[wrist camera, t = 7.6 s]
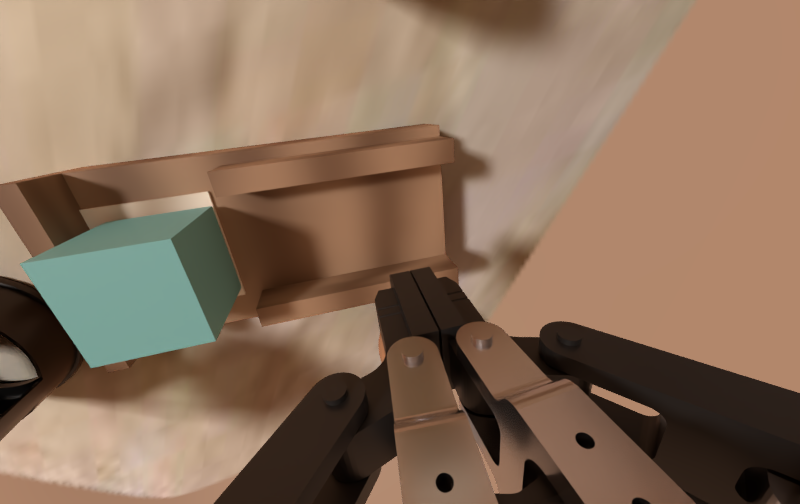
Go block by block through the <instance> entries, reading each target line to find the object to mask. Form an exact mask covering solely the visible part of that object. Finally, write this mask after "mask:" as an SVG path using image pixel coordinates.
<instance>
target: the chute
mask: <svg viewBox="0 0 800 504" xmlns="http://www.w3.org/2000/svg"><path fill="white" fill-rule="evenodd" d="M452 162H455V161H454V138H448V137H442V136H440V133H439V125H431V124H420V125H412V126H404V127H397V128H389V129H381V130H373V131H365V132H357V133H349V134H341V135H333V136H326V137H318V138H310V139H302V140H294V141H286V142H278V143H270V144H262V145H255V146H247V147H239V148H231V149H223V150H215V151H207V152H199V153H191V154H183V155H176V156H168V157H160V158H152V159H144V160H136V161H128V162H120V163H112V164H105V165H97V166H89V167H81V168H76V169H71V170H67V171H62V172H57V173H52V174H47V175H43V176H38V177H33V178H28V179H23V180H19V181H14V182H9V183H4V184H0V208H1V210H2V211H3V213H4V214H5V216H6V217H7V219H8V220H9V222H10V223H11V225H12V226H13V228H14V229H15V231H16V232H17V234H18V236H19V237H20V239H21V240H22V242H23V243H24V245H25V246H26V248H27V249H28V251H29V252H30V254H31V255H32V257H35V256H37V255H39V254H41V253H43V252H45V251H47V250H49V249H51V248H53V247H56V246H58V245H60V244H62V243H64V242H66V241H68V240H70V239H72V238H74V237H76V236H78V235H80V234H82V233H84V232H87V231H89V230H91V229H93V228H95V227H97V226H99V225H101V224H103V223H105V222H110V221H117V220H123V219H130V218H136V217H143V216H149V215H156V214H162V213H169V212H175V211H182V210H189V209H195V208H202V207H208V206H212V208H213V210H214V213H215V216H216V219H217V221H218V224H219V227H220V230H221V232H222V235H223V238H224V240H225V243H226V246H227V249H228V251H229V254H230V257H231V260H232V262H233V265H234V268H235V270H236V273H237V276H238V279H239V281H240V284H241V287H242V288H241V290H240V292H239V294H238V296H237V298H236V300H235V302H234V304H233V306H232V309H231V311H230V313H229V315H228V317H227V319H226V321H225V323H229V322H234V321H239V320H243V319H248V318H253V317H259V319H260V322H261V325H262V327H263V326H268V325H272V324H277V323H282V322H286V321H291V320H296V319H300V318H305V317H310V316H314V315H319V314H324V313H328V312H333V311H338V310H342V309H347V308H352V307H356V306H361V305H366V304H370V303H375V298H376V295H377V293H378V291H379V290H384V289H389V288H391V284H390V276H389V275H390V274H395V273H400V272H405V271H409V272H410V270H415V269H420V268H424V267H430V268H431V269H432V271H433V273H434V274H435V276H436V277H437V278H441V277H448V278H449V279H451V280H453V281H455V282H457V284H458V285H459V283H458V267H457V266H456V265H455V264H454V263H453V262H452V261H451V259H450V258H449V257H448V256H447V255H446V252H445V232H444V213H443V193H442V173H441V164H445V163H452ZM136 359H137V358H136ZM136 359H131V360H127V361H122V362H117V363H113V364H108V365H104V366H105V368H106V369H107V371H108V372H113V371H118V370H122V369H127V368H130V366H131V365H132V364H133V363H134V361H135V360H136Z"/></svg>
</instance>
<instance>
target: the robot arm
mask: <svg viewBox="0 0 800 504" xmlns="http://www.w3.org/2000/svg"><path fill="white" fill-rule="evenodd" d="M389 276H390V284H391V288H389V289H384V290H379V291H378V293H377V295H376V298H375V305H376V311H377V316H378V322H379V327H380V333H381V337H382V342H383V346H384V350H385V358H384V360H383V362H382V363H381V365H380V366H379V367H378V368H377V369H376V370H374V371H373V372H371V373H370V374H368V375H366V376H364V377H363V378H361V379H360V378H359V377H358V376H356V375H354V374H351V373H336V374H332V375H329V376H327V377H325V378H324V379H322V380H320V381H319V382H318V383H317V384H316V385H315V386H314V387H313V388H312V389H311V390H310V392H309V393H308V394H307V395H306V396H305V397H304V399H303V400H302V401H301V402H300V403H299V404H298V406H297V407H296V408H295V409H294V410H293V411H292V413H291V414H290V415H289V416H288V417H287V418H286V420H285V421H284V422H283V423H282V424H281V425H280V427H279V428H278V429H277V430H276V431H275V432H274V434H273V435H272V436H271V437H270V438H269V439H268V441H267V442H266V443H265V444H264V445H263V446H262V448H261V449H260V450H259V451H258V452H257V453H256V455H255V456H254V457H253V458H252V459H251V460H250V462H249V463H248V464H247V465H246V466H245V468H244V469H243V470H242V471H241V472H240V473H239V475H238V476H237V477H236V478H235V479H234V480H233V482H232V483H231V484H230V485H229V486H228V487H227V489H226V490H225V491H224V492H223V493H222V494H221V496H220V497H219V498H218V499H217V500H216V502H215V503H214V504H365V503H366V501H367V498H368V497H369V495H370V493H371V491H372V489H373V486H374V485H375V482H376V481H377V479H378V477H379V474H380V471H381V466H383V465H384V464H386V463H387V462H389V461H390V460H391V459H393V458H394V457H396V456H397V458H398V467H399V476H400V484H401V493H402V501H403V504H800V393H797V392H794V391H791V390H787V389H784V388H781V387H778V386H775V385H772V384H768V383H765V382H762V381H759V380H755V379H752V378H749V377H746V376H742V375H739V374H736V373H733V372H730V371H726V370H723V369H720V368H716V367H713V366H710V365H707V364H704V363H701V362H697V361H694V360H691V359H688V358H685V357H681V356H678V355H675V354H672V353H668V352H665V351H662V350H659V349H656V348H652V347H649V346H646V345H643V344H639V343H636V342H633V341H630V340H626V339H623V338H620V337H616V336H614V335H610V334H607V333H603V332H601V331H597V330H594V329H591V328H588V327H584V326H581V325H578V324H575V323H571V322H562V321H560V322H552V323H549V324H547V325H545V326H544V327H542V329H541V331H540V337H512V336H509V335H508V334H507V333H505V331H504V330H503V329H502V328H500V327H499V326H497V325H495V324H492V323H489V322H485V321H484V319H483V318H482V316H481V315H480V314H479V312H478V311H477V310H476V308H475V307H474V306H473V304H472V303H471V302H470V300H469V299H467V296H466V295H465V293H464V292H462V289H461V288H460V287H459V285H458V284H457V282H455V281H453V280H451V279H449V278H448V277H441V278H437V277H436V276H435V274H434V273H433V271H432V269H431V268H430V267H424V268H420V269H415V270H410V272H409V271H405V272H400V273H395V274H390V275H389ZM592 384H594V385H596V386H598V387H601V388H603V389H606V390H608V391H611V392H613V393H616V394H618V395H621V396H623V397H625V398H628V399H631V400H633V401H635V402H638V403H641V404H643V405H645V406H648V407H650V408H652V409H654V410H656V411H657V412H659V413H660V414H659V415H658V416H645V415H642V414H640V413H637V412H635V411H633V410H630V409H628V408H625V407H623V406H621V405H618V404H616V403H614V402H611V401H609V400H606V399H604V398H602V397H599V396H597V395H595V394H592V393H591V388H592ZM452 389H456V391H457V394H458V396H459V406H460V410H459V409H458V406H457V403H456V400H455V398H454V395H453V391H452ZM477 444H478V446H479V448H480V450H481V452H482V454H483V456H484V458H485V459H486V462H487V463H488V465H489V467H490V469H491V471H492V473H493V475H494V478H495V480H496V483H497V486H498V490H499V494H495V493H494V491H493V488H492V486H491V482H490V480H489V477H488V474H487V471H486V468H485V466H484V463H483V460H482V457H481V454H480V452H479V449H478V446H477Z"/></svg>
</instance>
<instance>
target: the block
mask: <svg viewBox="0 0 800 504" xmlns="http://www.w3.org/2000/svg"><path fill="white" fill-rule="evenodd" d="M20 265H21V266H22V268H23V269H24V271H25V272H26V274H27V275H28V277H29V278H30V280H31V281H32V282H33V284H34V285H35V287H36V288H37V290H38V291H39V293H40V294H41V296H42V297H43V299H44V300H45V302H46V303H47V304H48V306H49V307H50V309H51V310H52V312H53V313H54V315H55V316H56V318H57V319H58V321H59V322H60V323H61V325H62V326H63V328H64V329H65V331H66V332H67V334H68V335H69V337H70V338H71V340H72V341H73V342H74V344H75V345H76V347H77V348H78V350H79V351H80V353H81V354H82V356H83V357H84V359H85V360H86V362H87V363H88V364H89V366H90V367H91V368H94V367H99V366H104V365H108V364H113V363H117V362H122V361H127V360H131V359H136V358H140V357H145V356H150V355H154V354H159V353H163V352H168V351H173V350H177V349H182V348H187V347H191V346H196V345H200V344H205V343H210V342H214V341H216V340H217V338H218V336H219V334H220V331H221V329H222V327H223V325H224V323H225V321H226V319H227V317H228V315H229V313H230V311H231V309H232V306H233V304H234V302H235V300H236V298H237V296H238V294H239V292H240V290H241V288H242V287H241V284H240V281H239V279H238V276H237V273H236V270H235V268H234V265H233V262H232V260H231V257H230V254H229V251H228V249H227V246H226V243H225V240H224V238H223V235H222V232H221V230H220V227H219V224H218V221H217V219H216V216H215V213H214V210H213V208H212V206H208V207H202V208H195V209H189V210H182V211H175V212H169V213H162V214H156V215H149V216H143V217H136V218H130V219H123V220H117V221H110V222H105V223H103V224H101V225H99V226H97V227H95V228H93V229H91V230H89V231H87V232H84V233H82V234H80V235H78V236H76V237H74V238H72V239H70V240H68V241H66V242H64V243H62V244H60V245H58V246H56V247H53V248H51V249H49V250H47V251H45V252H43V253H41V254H39V255H37V256H35V257H33V258H31V259H29V260H27V261H25V262H22V263H20Z"/></svg>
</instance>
